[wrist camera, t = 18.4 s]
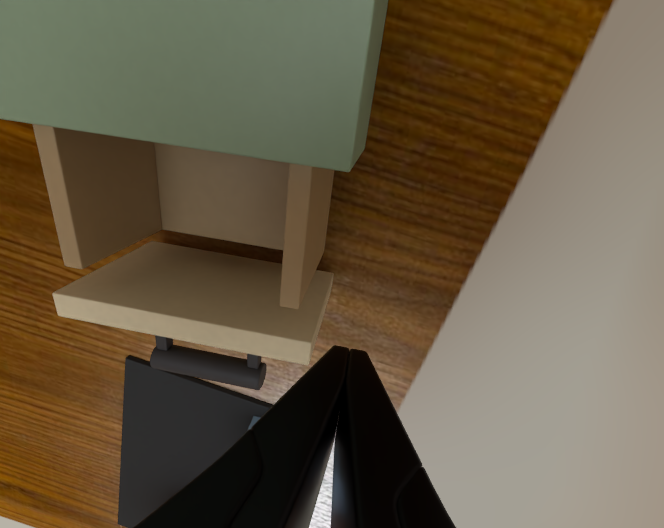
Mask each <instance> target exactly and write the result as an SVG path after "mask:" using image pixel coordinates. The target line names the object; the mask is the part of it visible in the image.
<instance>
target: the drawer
mask: <svg viewBox="0 0 664 528" xmlns="http://www.w3.org/2000/svg"><path fill="white" fill-rule="evenodd" d="M33 128H34V133H35V137H36V141H37V146H38V150H39V155H40V159H41V163H42V168H43V172H44V177H45V181H46V185H47V190H48V194H49V199H50V203H51V207H52V212H53V216H54V220H55V225H56V229H57V234H58V238H59V242H60V247H61V251H62V256H63V260H64V264H65V266H68V267H73V268H78V269H83V268H85V267H87V266H89V265H91V264H93V263H95V262H98V261H100V260H102V259H104V258H106V257H108V256H110V255H112V254H114V253H116V252H118V251H120V250H122V249H124V248H126V247H128V246H130V245H132V244H134V243H136V242H138V241H140V240H142V239H144V238H146V237H148V236H150V235H152V234H154V233H156V232H158V231H160V230H162V229H163V230H169V231H174V232H180V233H186V234H192V235H197V236H203V237H209V238H215V239H220V240H226V241H232V242H238V243H243V244H249V245H255V246H261V247H266V248H272V249H278V250H283V260H282V264H280V263H274V262H268V261H263V260H257V259H251V258H246V257H240V256H234V255H229V254H223V253H217V252H212V251H206V250H200V249H195V248H189V247H184V246H178V245H172V244H167V243H161V242H155V241H151V242H149V243H147V244H145V245H143V246H141V247H139V248H138V249H136V250H134V251H132V252H130V253H128V254H126V255H124V256H122V257H120V258H118V259H116V260H115V261H113V262H111V263H109V264H107V265H105V266H103V267H101V268H99V269H97V270H95V271H93V272H92V273H90V274H88V275H86V276H84V277H82V278H80V279H78V280H76V281H74V282H72V283H71V284H69V285H67V286H65V287H63V288H61V289H59V290H57V291H55V292H53V298H54V302H55V306H56V310H57V313H58V316H62V317H67V318H72V319H77V320H82V321H87V322H92V323H97V324H102V325H107V326H112V327H117V328H122V329H127V330H132V331H137V332H142V333H147V334H152V335H155V337H156V345H157V346H156V347H155V348H154V350H153V352H152V354H151V358H150V365H151V367H152V368H154V369H159V370H164V371H168V372H173V373H178V374H183V375H188V376H193V377H197V378H202V379H207V380H212V381H217V382H221V383H226V384H231V385H236V386H241V387H245V388H250V389H255V390H260V388H261V387H262V385H263V382H264V379H265V375H266V364H265V363H262V362H261V356H262V357H267V358H272V359H277V360H282V361H287V362H292V363H297V364H302V365H309V363H310V360H311V356H312V353H313V350H314V346H315V343H316V340H317V336H318V333H319V330H320V326H321V323H322V320H323V316H324V313H325V310H326V306H327V303H328V300H329V297H330V293H331V290H332V283H333V276H334V273H330V272H325V271H319V270H316V269H317V266H318V264H319V262H320V260H321V257H322V255H323V253H324V248H325V241H326V233H327V225H328V217H329V209H330V201H331V193H332V185H333V178H334V170H331V169H325V168H318V167H311V166H305V165H298V164H292V163H285V162H279V161H272V160H266V159H259V158H253V157H246V156H240V155H233V154H227V153H220V152H213V151H207V150H200V149H194V148H187V147H181V146H174V145H168V144H161V143H155V142H148V141H142V140H135V139H129V138H122V137H116V136H109V135H102V134H96V133H89V132H83V131H76V130H70V129H63V128H57V127H50V126H44V125H37V124H33ZM173 339H177V340H182V341H187V342H192V343H197V344H202V345H207V346H212V347H217V348H222V349H227V350H232V351H237V352H242V353H247V359H242V358H237V357H232V356H227V355H222V354H217V353H212V352H207V351H202V350H197V349H192V348H187V347H182V346H177V345H173Z"/></svg>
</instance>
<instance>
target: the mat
mask: <svg viewBox="0 0 664 528" xmlns="http://www.w3.org/2000/svg"><path fill="white" fill-rule="evenodd" d="M272 406H273V405H271V404H268V403H265V402H262V401H259V400H257V399H254V398H251V397H248V396H245V395H242V394H239V393H236V392H233V391H231V390H228V389H225V388H222V387H219V386H216V385H213V384H210V383H207V382H205V381H202V380H199V379H196V378H193V377H190V376H187V375H183V374H178V373H173V372H168V371H164V370H159V369H154V368H152V367H151V365H150V362H147V361H144V360H141V359H138V358H135V357H132V356H130V355H129V356H128V357H127V358H126V361H125V382H124V404H123V425H122V446H121V468H120V489H119V511H118V524H119V525H122V526H125V527H128V528H133V527H135V526H136V525H137V524H138V523H140V522H141V521H142V520H143V519H145V518H146V517H147V516H148V515H150V514H151V513H152V512H153V511H155V510H156V509H157V508H158V507H160V506H161V505H162V504H163V503H165V502H166V501H167V500H168V499H170V498H171V497H172V496H173V495H175V494H176V493H177V492H178V491H180V490H181V489H182V488H183V487H185V486H186V485H187V484H189V483H190V482H191V481H192V480H193V479H195V478H196V477H197V476H198V475H199V474H201V473H202V472H203V471H204V470H205V469H207V468H208V467H209V466H210V465H211V464H213V463H214V462H215V461H216V460H217V459H218V458H220V457H221V456H222V455H223V454H224V453H225V452H226V451H227V450H228V449H229V448H230V447H231V446H232V445H233V444H235V443H236V442H237V441H238V440H239V439H240V438H241V437H242V436H243V435H244V434H245V433H246V432H247V430H248V428H249V425H250V423H251V421H252V418H253V416H257V417H262V416H263V415H264V414H265V413H266V412H267V411H268V410H269V409H270V408H271V407H272Z"/></svg>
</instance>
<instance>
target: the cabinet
mask: <svg viewBox="0 0 664 528" xmlns="http://www.w3.org/2000/svg"><path fill="white" fill-rule="evenodd" d="M387 6H388V0H0V119H4V120H11V121H18V122H24V123H31V124H37V125H44V126H50V127H57V128H63V129H70V130H76V131H83V132H89V133H96V134H102V135H109V136H116V137H122V138H129V139H135V140H142V141H148V142H155V143H161V144H168V145H174V146H181V147H187V148H194V149H200V150H207V151H213V152H220V153H227V154H233V155H240V156H246V157H253V158H259V159H266V160H272V161H279V162H285V163H292V164H298V165H305V166H311V167H318V168H325V169H331V170H338V171H344V172H350V170H351V169H352V168H353V166H354V164H355V163H356V161H357V160H358V158H359V157H360V155H361V153H362V152H363V150H364V149H365V144H366V137H367V131H368V125H369V118H370V112H371V106H372V100H373V93H374V87H375V81H376V75H377V68H378V62H379V56H380V50H381V43H382V37H383V31H384V25H385V18H386V12H387Z"/></svg>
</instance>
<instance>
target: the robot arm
mask: <svg viewBox="0 0 664 528" xmlns="http://www.w3.org/2000/svg"><path fill="white" fill-rule="evenodd" d="M338 416H339V417H338ZM337 422H338V423H337ZM336 428H337V429H336ZM335 433H336V436H335ZM334 438H335V448H334V468H333V491H332V513H331V528H456V527H455V525H454V524H453V522H452V520H451V518H450V517H449V515H448V513H447V511H446V510H445V508H444V506H443V504H442V502H441V500H440V498H439V496H438V494H437V493H436V491H435V489H434V487H433V485H432V483H431V481H430V479H429V477H428V475H427V473H426V471H425V469H424V468H423V467H422V463H421V461H420V459H419V457H418V455H417V453H416V451H415V449H414V447H413V445H412V443H411V441H410V439H409V437H408V435H407V433H406V431H405V429H404V427H403V425H402V423H401V420H400V418H399V416H398V414H397V412H396V410H395V408H394V406H393V404H392V402H391V400H390V398H389V396H388V394H387V392H386V390H385V388H384V386H383V384H382V382H381V380H380V378H379V376H378V374H377V372H376V370H375V368H374V366H373V364H372V362H371V360H370V358H369V356H368V354H367V352H366V351H362V350H357V349H351V350H350V352H349V348H347V347H341V346H336V345H335V346H333V347H332V348H331V349H330V350H329V351H328V352H327V353H326V354H325V355H324V356H323V357H322V358H321V359H320V360H319V361H318V362H317V363H315V364H314V365H313V366H312V367H311V368H310V369H309V370H308V371H307V372H306V373H305V374H304V375H303V376H302V377H301V378H300V379H299V380H298V381H297V382H296V383H295V384H294V385H293V386H292V387H291V388H290V389H289V390H288V391H287V392H286V393H285V394H284V395H283V396H282V397H281V398H280V399H279V400H278V401H277V402H276V403H275V404H274V405H273V406H272V407H271V408H270V409H269V410H268V411H267V412H266V413H265V414H264V415H263V416H262V417H261V418H260V419H259V420H258V421H257V422H256V423H255V424H254V425H253V426H252V428H251V429H249V430H248V431H247V432H246V433H245V434H244V435H243V436H242V437H241V438H240V439H239V440H238V441H237V442H236V443H235V444H233V445H232V446H231V447H230V448H229V449H228V450H227V451H226V452H225V453H224V454H223V455H222V456H221V457H220V458H218V459H217V460H216V461H215V462H214V463H213V464H211V465H210V466H209V467H208V468H207V469H205V470H204V471H203V472H202V473H201V474H199V475H198V476H197V477H196V478H195V479H193V480H192V481H191V482H190V483H189V484H187V485H186V486H185V487H183V488H182V489H181V490H180V491H178V492H177V493H176V494H175V495H173V496H172V497H171V498H170V499H168V500H167V501H166V502H165V503H163V504H162V505H161V506H160V507H158V508H157V509H156V510H155V511H153V512H152V513H151V514H150V515H148V516H147V517H146V518H145V519H143V520H142V521H141V522H140V523H138V524H137V525H136V526H135V527H133V528H309V525H310V521H311V518H312V514H313V511H314V508H315V504H316V501H317V497H318V494H319V491H320V487H321V484H322V480H323V477H324V474H325V470H326V467H327V463H328V460H329V457H330V453H331V450H332V446H333V442H334Z"/></svg>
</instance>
